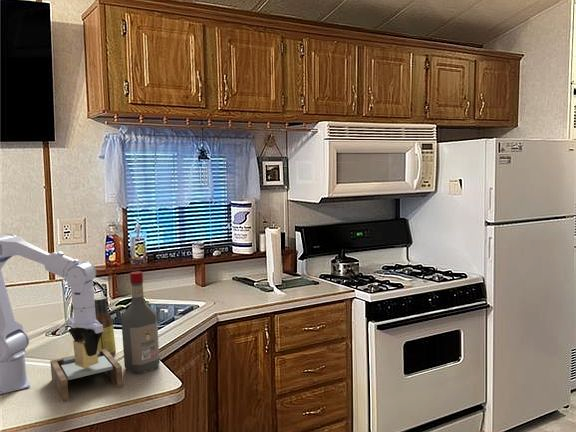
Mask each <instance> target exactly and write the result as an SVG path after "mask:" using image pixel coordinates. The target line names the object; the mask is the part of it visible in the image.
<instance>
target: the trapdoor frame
mask: <svg viewBox="0 0 576 432" xmlns="http://www.w3.org/2000/svg"><path fill="white" fill-rule="evenodd" d="M98 352H99V353H100V357H101V356H105V358H106V359H107V360H108V361H109V362H110V364H111V365H112V366H113V370H109V371H104V373H105V372H106V373H107V374H106V373H105V374H106V375H107V376H108V378H109V379H110V381H111V382H112V383H113V384H114V385H115V387H116V388H117V389H120V388H121V389H122V388H124V383H123V381H124V379H123V378H124V377H123V366H122V365H121V364H120V363H119V362H118V360H117V359H116V358H115V357H114V356H112V355H111V354H110V353H109V352H108V351H107V350H106V349H102V350H98ZM62 358H63V357H61V358H57V359H52V360H50V361H49V362H50V375H51V382H52V384H53V385H54V387H55V389H56V392H57V394H58V395H59V398H60V400H61V402H62V403H66V402H70V400H69V399H70V398H69V388H68V387H69V386H68V384H69V383H68V379H67V378H66V376H65V374H64V372H63V371H62V369H61V365H63V359H62Z"/></svg>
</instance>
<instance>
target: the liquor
mask: <svg viewBox="0 0 576 432" xmlns="http://www.w3.org/2000/svg"><path fill="white" fill-rule="evenodd" d="M129 276H130V277H129V278H130V285H131V287H130V289H131V302H130V303H131V304H130V305H129V306H128V308H127V309H126V310H125V311H124V313H123V314H122V316H121V319H120V320H121V333H122V334H121V335H122V350H123V362H124V368H125V370H127V371H129V372H131V373H133V374H144V373H146V372H150V371H153V370H155V369H157V368H158V366H159V365H160V363H161V362H160V361H161V360H160V359H161V358H160V346H159V331H158V316H157V313H156V312H155V311H154V309H153V308H151V307H150V306H149V305H148V304H147V303H146V301H145V298H144V295H145V294H144V285H143V283H144V275H143V271H141V270H139V271H131V272H130V273H129Z"/></svg>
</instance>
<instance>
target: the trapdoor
mask: <svg viewBox="0 0 576 432" xmlns="http://www.w3.org/2000/svg"><path fill="white" fill-rule="evenodd" d="M97 354H98V363H97V364H94V365H92V366H89V367H86V368H82V367H79V366H77V365H75V355H70V356H69V355H68V356H66V357H61V358H62V359H63V365H61V369H62V371H63V372H64V374H65V376H66V378H67V381H70V380H74V379H79V378H83V377H86V376H91V375H95V374H99V373H105V371H109V370H113V366H112V365H111V364H110V362H109V361H108V360H107V359H106V358H105V356H101V357H100V353H99V352H98V350H97Z"/></svg>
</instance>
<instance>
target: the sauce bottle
mask: <svg viewBox="0 0 576 432" xmlns="http://www.w3.org/2000/svg"><path fill="white" fill-rule="evenodd" d="M94 301H95V316H96V320H97V321H98V322H99V323H100V324H102V325H103V333H102V335H101V337H100V340H99V343H98V348H97V350H102V349H106V350H107V351H108V352H109V353H110V354H111V355H112V356H113V357H114V355H115V356H116V354H117V353H116V349H117V348H116V347H117V346H116V340H115V330H114V324H113V323H114V322H113V319H112V316H111V315H110V313H109V311H108V305H107V301H108V299H107V297H106V296H97V297H94Z"/></svg>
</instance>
